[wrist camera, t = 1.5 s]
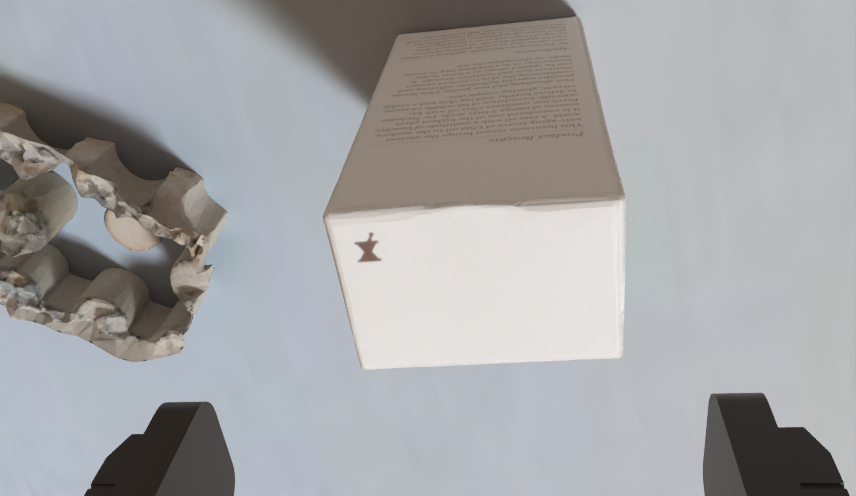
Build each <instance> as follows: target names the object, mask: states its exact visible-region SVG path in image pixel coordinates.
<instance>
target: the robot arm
mask: <svg viewBox="0 0 856 496" xmlns="http://www.w3.org/2000/svg"><path fill="white" fill-rule="evenodd" d="M703 482H704V492H705V496H849V493H848V491H847V489H844V482H843V480H842V478H841V476H840V473H839V471H838V469H837V467H836V465H835V462H834V460H833V458H832V456H831V453H830V452H829V451H828V450H827V449H826V448H825V447H824V446H822V445H821V444H820V443H819V442H818V441H817V440H816V439H815V438H814V437H813V436H812V435H811V434H810V433H809V432H808V431H807V430H806V429H805V428H804V427H786V428H778V426H777V424H776V421H775V419H774V416H773V413H772V411H771V408H770V406H769V403H768V401H767V399H766V397H765V395H764V394H763V393H727V394H711V396H710V399H709V406H708V416H707V427H706V438H705V449H704V460H703ZM234 488H235V474H234V467H233V464H232V461H231V458H230V455H229V452H228V448H227V445H226V442H225V439H224V436H223V433H222V430H221V427H220V424H219V421H218V418H217V415H216V412H215V410H214V407H213V406H212V405H211V403H209V402H168V403H163V404H162V405H161V406H160V407H159V408H158V409H157V411H156V413H155V414H154V416H153V418H152V420H151V422H150V423H149V425H148V427H147V429H146V431H145V432H144V434H132V435H131V436H129V437H128V438H127V439H126V440H125V441H124V442H123V443H122V444H121V445H120V446H119V447H118V448H116V449H115V450H114V451H113V452H112V453H111V454H110V455H109V456H108V457H107V458H106V459H105V461H104V463H103V464H102V466H101V468H100V470H99V471H98V473H97V475H96V476H95V478H94V480H93V481H92V483H91V489H88V490H87V492H86V493H85V495H84V496H233V495H234Z"/></svg>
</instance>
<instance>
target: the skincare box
mask: <svg viewBox="0 0 856 496" xmlns="http://www.w3.org/2000/svg"><path fill="white" fill-rule="evenodd" d="M323 220H324V223H325V227H326V231H327V235H328V239H329V243H330V246H331V250H332V254H333V258H334V262H335V266H336V269H337V273H338V277H339V281H340V285H341V289H342V293H343V297H344V301H345V305H346V309H347V313H348V317H349V321H350V325H351V329H352V333H353V337H354V341H355V345H356V350H357V354H358V358H359V361H360V365H361V367H362V368H363V369H366V370H369V369H386V368H403V367H429V366H447V365H471V364H493V363H514V362H535V361H559V360H581V359H616V358H620V357H621V356H622V354H623V334H624V299H625V237H626V200H625V194H624V190H623V186H622V183H621V179H620V176H619V173H618V169H617V165H616V162H615V158H614V154H613V150H612V146H611V142H610V138H609V134H608V130H607V126H606V122H605V118H604V114H603V110H602V105H601V101H600V96H599V92H598V88H597V84H596V79H595V75H594V71H593V67H592V62H591V58H590V54H589V50H588V45H587V41H586V37H585V33H584V28H583V25H582V22H581V20H580V18H578V17H568V18H559V19H549V20H538V21H528V22H517V23H508V24H498V25H488V26H479V27H469V28H458V29H449V30H440V31H430V32H419V33H410V34H400V35H398V36H397V38H396V40H395V42H394V45H393V47H392V50H391V52H390V54H389V57H388V59H387V62H386V64H385V67H384V69H383V72H382V74H381V76H380V79H379V81H378V84H377V86H376V88H375V91H374V93H373V96H372V98H371V101H370V103H369V105H368V108H367V110H366V112H365V115H364V117H363V120H362V123H361V125H360V128H359V130H358V132H357V135H356V137H355V140H354V142H353V144H352V147H351V149H350V152H349V154H348V157H347V159H346V162H345V164H344V166H343V169H342V172H341V174H340V177H339V179H338V182H337V184H336V186H335V188H334V191H333V193H332V195H331V198H330V200H329V203H328V205H327V207H326V209H325V212H324V215H323Z"/></svg>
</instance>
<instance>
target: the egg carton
mask: <svg viewBox="0 0 856 496" xmlns="http://www.w3.org/2000/svg"><path fill="white" fill-rule="evenodd" d="M0 158H1V159H2V160H4V161H6V162H7V163H9V164H11V165H12V166H13V168H14V169H15V171H16V173H17V175H18V177H19V179H18V180H17V181H16V182H14V183H12V182H11V181H10V180H9V181H10V182H11V183H12V185H11V186H9V187H8V188H7V189H6V190H4V191H3V192H2V193H1V194H0V304H2V305H3V306H5V307H6V308H7V311H8V314H9V315H10V317H11V318H14V319H20V320H27V321H33V322H36V323H39V324H43V325H45V326H47V327H49V328H52V329H54V330H56V331H58V332H61V333H65V334H70V335H75V336H78V337H80V338H82V339H84V340H87V341H89V342H90V343H92V344H94V345H96V346H97V347H99V348H101V349H103V350H104V351H106V352H108V353H109V354H111V355H113V356H115V357H116V358H120V359H124V360H128V361H131V362H136V361H147V360H151V359H156V358H161V357H165V356H170V355H173V354H176V353H179V352H180V351H181V349H182V348H183V347H184V343H185V342H184V337H183V335H184V333H185V332H186V331H187V330H188V329H189V326H190V324H191V322H192V319H193V317H194V316H195V314H196V312H197V310H198V309H199V307H200V305H201V303H202V302H203V300H204V299H205V296H206V293H207V289H208V286H209V284H210V277H211V274H212V271H213V268H214V265H204V264H205V260H206V256H207V254H208V252H209V250H210V249H211V247H212V246H213V245H214V243H215V242H216V240H217V239H218V237H219V235H220V233H221V231H222V230H223V228H224V225H225V221H226V218H227V213H228V212H227V211H226V210H225V209H223V208H222V207H221V206H219V205H218V204H217V203H215V202H214V201H213V200H212V199H211V197H210V196H209V195H208V193H207V191H206V189H205V186H204V179H203V178H202V177H201V176H200V175H198V174H196V173H194V172H192V171H190V170H186V169H183V168H180V167H176V168H175V169H174V171H169V175H168V176H167V177H166V178H165V179H161V180H146V179H142V178H139V177H137V176H135V175H133V174H132V173H131V172H130V171H129V170H128V169H127V168H126V167H125V166H124V165H123V164H122V162H121V161H120V160H119V158H118V155H117V152H116V145H115V143H113V142H109V141H105V140H99V139H93V138H91V137H86V138H85V140H83V141H81V142H77V143H76V144H75V145H74V146H73V147H72V148H71V149H59V148H55V147H52V146H50V145H48V144H47V143H45V142H43V141H42V140H40V139H39V138H38V137H37V136H36V134H35V133H34V132H33V131H32V129H31V127H30V125H29V124H28V121H27V117H26V112H25V111H24V110H22V109H20V108H18V107H16V106H13V105H10V104H7V103H2V102H0ZM63 161H64V162H65V163H67V164H68V166H69V167H70V169H71V173H72V178H73V181H74V184H75V186H76V189H77V191H78V192H79V194H80V196H81V197H84V198H95V199H96V200H97V201H98V202H99V203H100V204H101V206H102V207H104V208H108V209H107V212H106V214H105V224H106V228H107V230H108V232H109V234H110V235H111V236H112V238H113V239H114V240H115V241H116V242H118V243H119V244H121V245H123V246H124V247H126V248H127V249H129V250H132V251H147V250H149V249H151V248H153V247H155V246H156V245H157V244H158V243H159V242H160V240H161V238H162V237H164V238H171V239H173V240H174V241H175V242H177V243H178V244H180V245H186V247H185V249H184V250H183V252H182V253H181V254H180V256H179V257H178V259H177V260H176V262H175V263H174V265H173V266H172V268H171V272H170V282H171V285H172V288H173V292H174V293H175V294H176V295H177V296H178V298H179V299H180V300H179V301H178V302H177V303H176V305H175V306H174V307H173V308H170V307H166V306H163V305H160V304H157V303H155V302H153V301H151V300H150V292H149V289H148V287H147V285H146V284H145V282H144V281H143V280H142V279H141V278H140V277H138V276H137V275H136V274H134V273H133V272H131V271H129V270H126V269H122V268H108V269H105V270H104V271H102V272H100V273H99V274H98V276H97V277H96V278H95V279H94V280H93V281H91V280H88V279H85V278H82V277H79V276H76V275H74V274H71V273H70V271H69V265H68V263H67V260H66V259H65V257H64V255H63V254H62V253H61V252H60V251H59V250H58V249H57V248H56V247H55V246H53V245H51V244H49V243H48V242H49V241H50V240H51V239H52V238H53V237H54V236H55V235H56V234H57V233H58V232H59V231H60V230H61V229H62V228H63V227H64V226H65V224H66V223H67V222H68V221H69V220H71V219H72V217H73V216H74V215H75V213H76V211H77V208H78V200H77V196H76V192H75V191H74V189H73V188H72V186H71V185H70V184H69V183H68V182H67V181H66V180H65V179H64V178H62V177H61V176H60V175H58V174H56V173H54V172H51V171H50V170H53V169H55V168H56V167H57V166H58V165H59V164H60V163H62V162H63Z"/></svg>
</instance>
